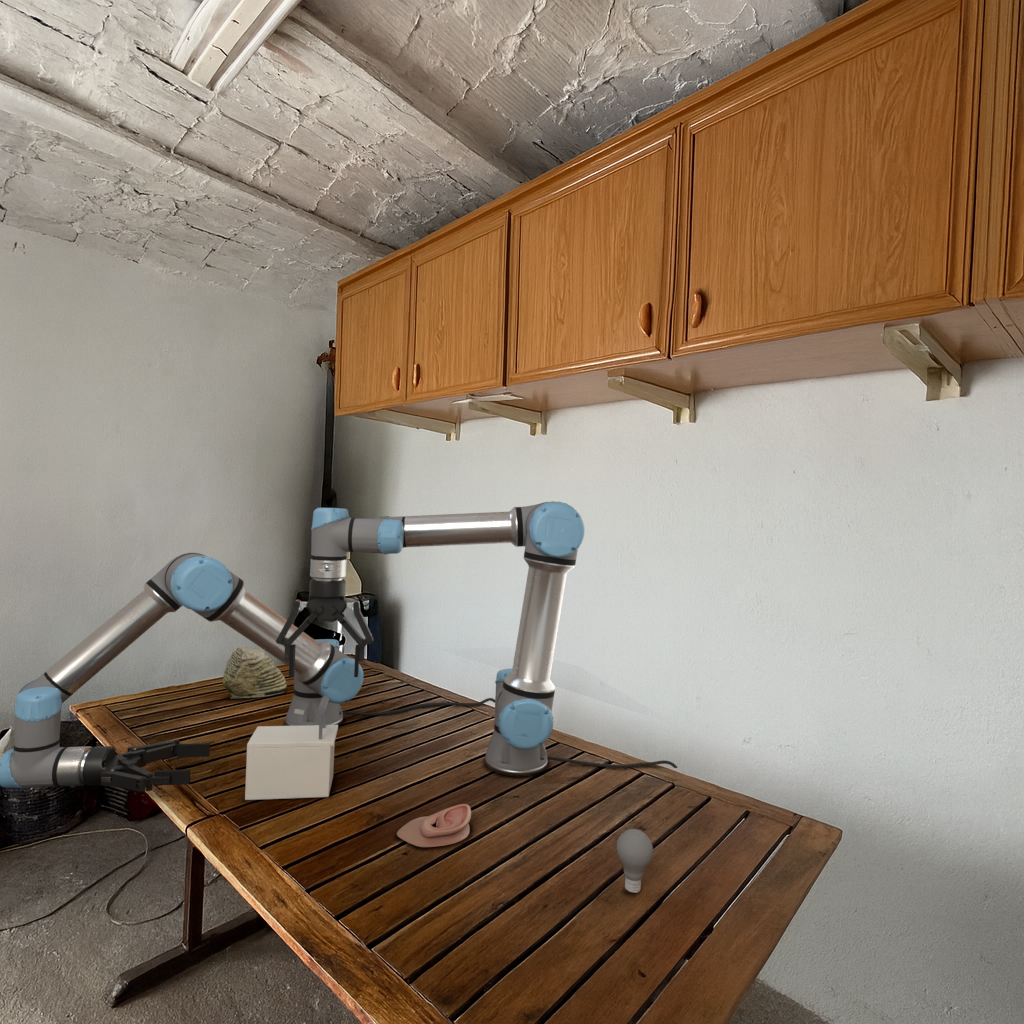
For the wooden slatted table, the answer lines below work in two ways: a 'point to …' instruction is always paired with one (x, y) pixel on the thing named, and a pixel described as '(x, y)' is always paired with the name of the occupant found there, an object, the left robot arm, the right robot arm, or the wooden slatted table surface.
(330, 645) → the left robot arm
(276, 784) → the chest
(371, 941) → the wooden slatted table surface
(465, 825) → the anatomical model
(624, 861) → the light bulb
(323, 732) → the lid
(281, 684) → the fossil
